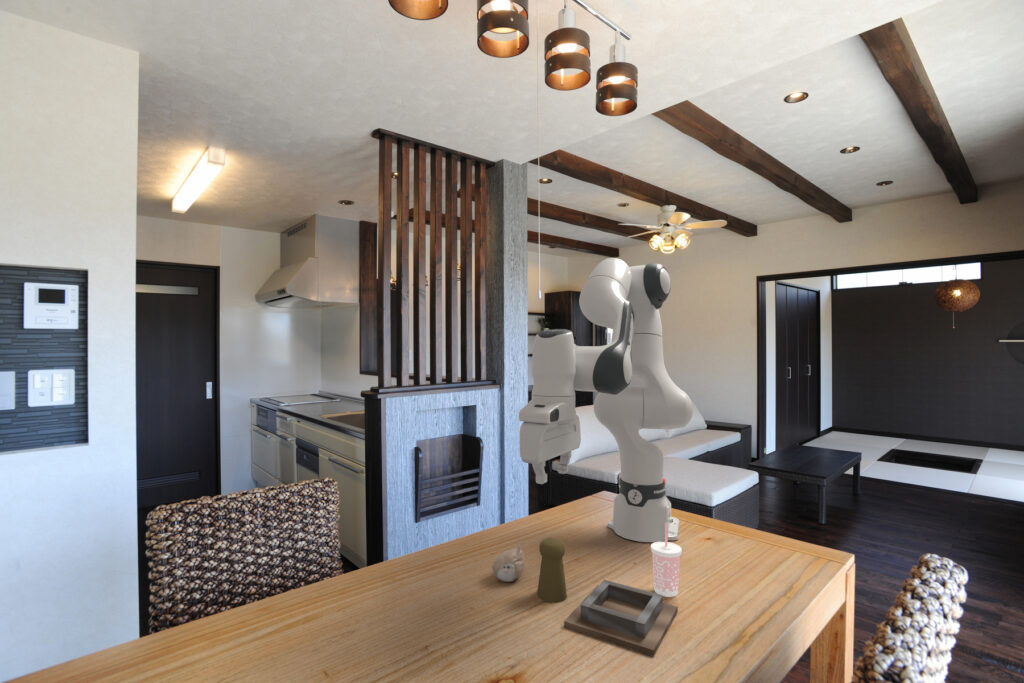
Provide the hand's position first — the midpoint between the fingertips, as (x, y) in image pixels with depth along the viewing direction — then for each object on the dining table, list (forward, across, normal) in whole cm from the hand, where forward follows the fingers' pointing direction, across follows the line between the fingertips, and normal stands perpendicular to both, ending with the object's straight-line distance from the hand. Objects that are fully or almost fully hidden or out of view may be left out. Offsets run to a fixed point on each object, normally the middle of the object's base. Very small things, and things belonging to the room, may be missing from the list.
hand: (552, 477), depth 101 cm
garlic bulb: (+24, -1, -11) cm, 26 cm away
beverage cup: (+24, -14, +19) cm, 33 cm away
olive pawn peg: (+24, 0, 0) cm, 24 cm away
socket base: (+24, +1, +15) cm, 28 cm away
